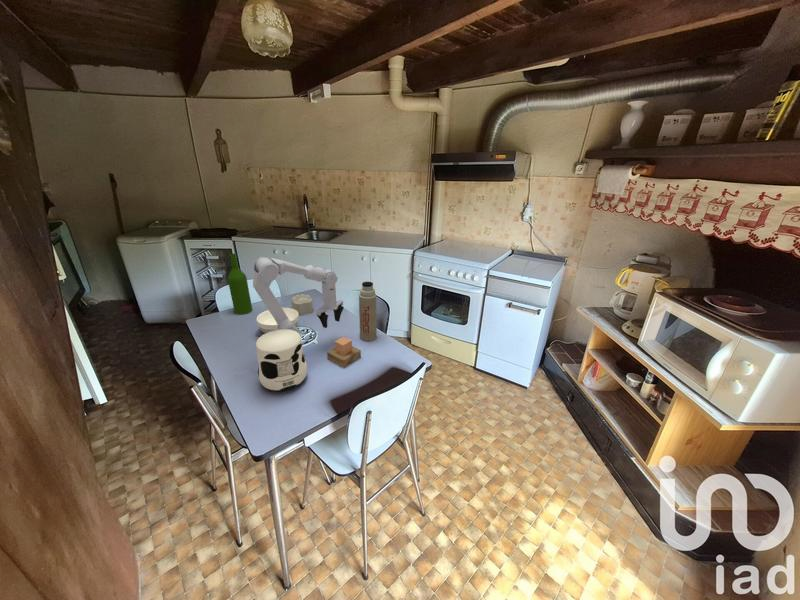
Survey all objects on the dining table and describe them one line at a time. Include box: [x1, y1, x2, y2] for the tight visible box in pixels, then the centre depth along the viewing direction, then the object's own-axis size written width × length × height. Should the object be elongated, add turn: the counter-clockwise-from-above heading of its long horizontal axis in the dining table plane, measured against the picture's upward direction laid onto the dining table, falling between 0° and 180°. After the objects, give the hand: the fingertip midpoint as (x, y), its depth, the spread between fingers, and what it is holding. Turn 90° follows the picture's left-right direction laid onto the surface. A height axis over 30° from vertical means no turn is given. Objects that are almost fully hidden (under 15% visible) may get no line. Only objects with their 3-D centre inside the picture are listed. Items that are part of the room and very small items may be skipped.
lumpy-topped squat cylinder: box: [290, 293, 314, 317], centre depth 173 cm, size 10×13×9 cm
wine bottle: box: [227, 253, 253, 316], centre depth 164 cm, size 9×9×32 cm
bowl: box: [256, 307, 299, 334], centre depth 150 cm, size 19×19×9 cm
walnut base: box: [326, 345, 362, 369], centre depth 132 cm, size 10×10×4 cm
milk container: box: [255, 329, 308, 392], centre depth 114 cm, size 17×17×18 cm
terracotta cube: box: [334, 336, 353, 356], centre depth 130 cm, size 5×5×5 cm
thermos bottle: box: [358, 281, 377, 342], centre depth 144 cm, size 8×8×28 cm
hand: (331, 324), depth 140 cm, fingers open, 7 cm apart
